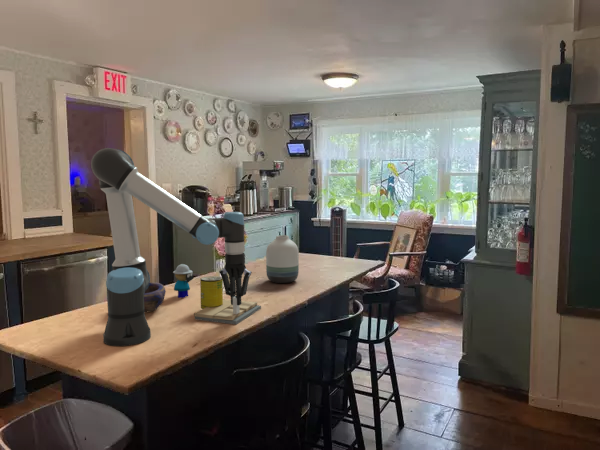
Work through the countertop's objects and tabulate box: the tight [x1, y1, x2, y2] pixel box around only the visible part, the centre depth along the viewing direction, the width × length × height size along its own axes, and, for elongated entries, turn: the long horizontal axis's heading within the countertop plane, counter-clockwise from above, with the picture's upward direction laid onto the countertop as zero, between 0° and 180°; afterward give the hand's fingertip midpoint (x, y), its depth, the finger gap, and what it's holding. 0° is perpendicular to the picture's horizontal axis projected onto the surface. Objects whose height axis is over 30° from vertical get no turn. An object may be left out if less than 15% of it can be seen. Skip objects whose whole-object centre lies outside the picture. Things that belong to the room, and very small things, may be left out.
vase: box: [265, 234, 300, 284], centre depth 241 cm, size 17×17×24 cm
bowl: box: [144, 282, 167, 313], centre depth 190 cm, size 18×18×10 cm
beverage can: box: [199, 275, 224, 310], centre depth 190 cm, size 9×9×12 cm
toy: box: [172, 263, 194, 299], centre depth 211 cm, size 8×9×15 cm
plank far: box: [229, 300, 258, 311], centre depth 190 cm, size 10×8×1 cm
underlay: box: [194, 298, 262, 325], centre depth 186 cm, size 22×18×2 cm
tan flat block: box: [213, 309, 244, 320], centre depth 179 cm, size 10×8×1 cm
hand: (236, 313), depth 178 cm, fingers closed
